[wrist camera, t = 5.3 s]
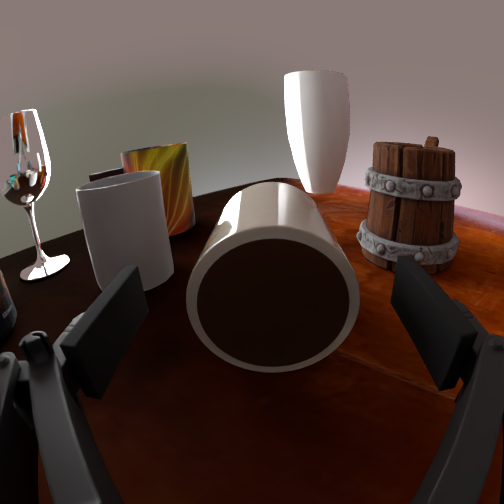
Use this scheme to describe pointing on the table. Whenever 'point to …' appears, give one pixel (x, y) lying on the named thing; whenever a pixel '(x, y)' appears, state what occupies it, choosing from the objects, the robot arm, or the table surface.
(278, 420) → the table surface
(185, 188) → the mug
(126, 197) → the cup
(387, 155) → the mug
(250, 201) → the tumbler
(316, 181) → the cup
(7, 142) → the wineglass
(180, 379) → the table surface
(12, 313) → the beverage can
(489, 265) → the table surface
